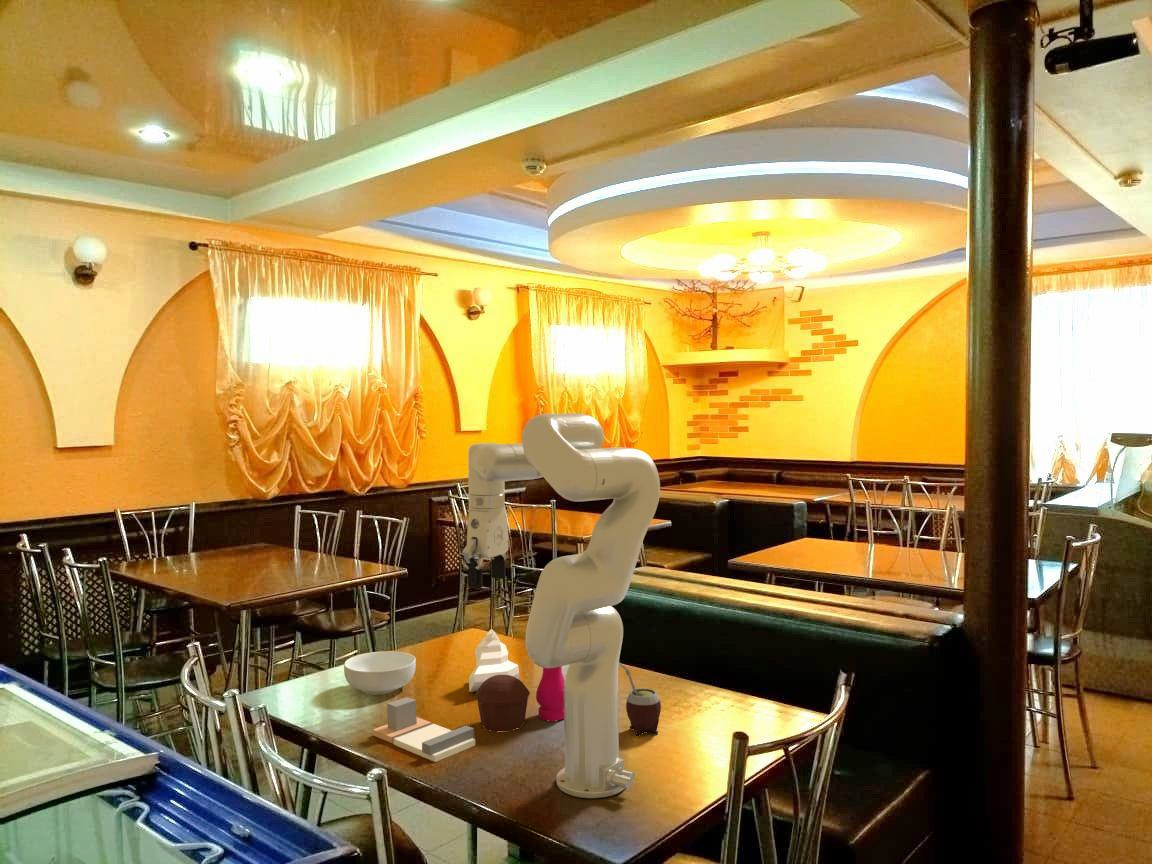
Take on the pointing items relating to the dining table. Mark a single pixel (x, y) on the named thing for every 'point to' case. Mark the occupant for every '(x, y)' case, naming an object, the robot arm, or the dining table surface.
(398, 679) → the cereal bowl
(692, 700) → the dining table surface
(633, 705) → the mate gourd
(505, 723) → the muffin
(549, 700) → the pepper mill
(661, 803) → the dining table surface
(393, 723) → the pink base grey block
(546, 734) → the dining table surface
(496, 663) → the soft serve ice cream
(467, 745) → the base
